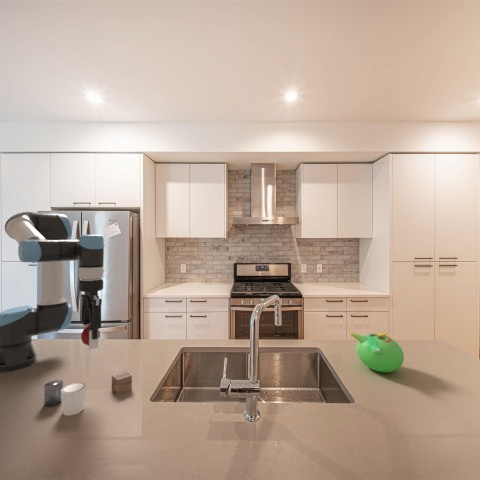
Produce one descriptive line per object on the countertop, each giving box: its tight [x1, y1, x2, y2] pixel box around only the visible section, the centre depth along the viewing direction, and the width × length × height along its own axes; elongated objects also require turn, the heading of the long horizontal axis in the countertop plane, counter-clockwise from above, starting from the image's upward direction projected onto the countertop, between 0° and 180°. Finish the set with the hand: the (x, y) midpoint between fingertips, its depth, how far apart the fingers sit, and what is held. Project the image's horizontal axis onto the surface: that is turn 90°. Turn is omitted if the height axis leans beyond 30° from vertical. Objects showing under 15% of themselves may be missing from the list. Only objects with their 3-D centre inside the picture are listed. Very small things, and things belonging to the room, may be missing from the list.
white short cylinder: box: [61, 381, 87, 417], centre depth 88 cm, size 7×7×7 cm
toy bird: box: [349, 332, 405, 373], centre depth 117 cm, size 18×17×15 cm
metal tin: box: [43, 379, 64, 408], centre depth 92 cm, size 5×5×6 cm
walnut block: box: [111, 370, 133, 396], centre depth 101 cm, size 5×5×5 cm
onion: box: [80, 324, 101, 347], centre depth 100 cm, size 6×6×8 cm
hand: (90, 345), depth 100 cm, fingers closed on onion, 6 cm apart
